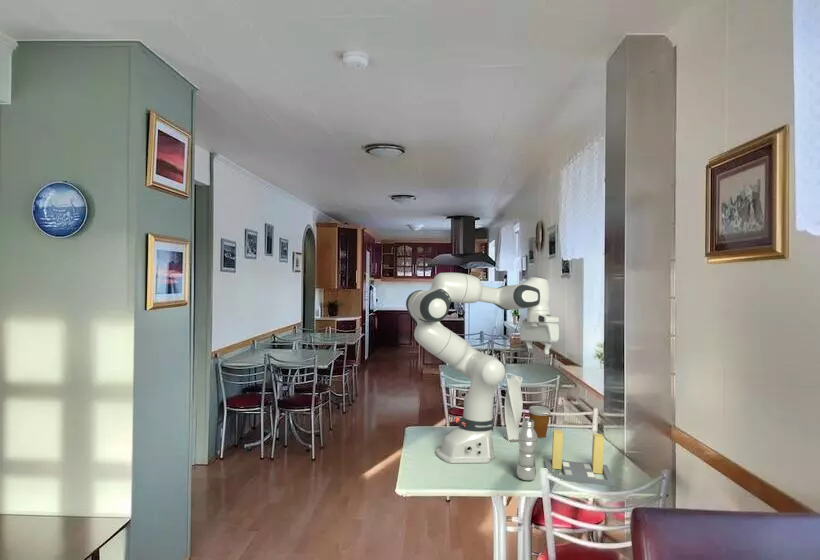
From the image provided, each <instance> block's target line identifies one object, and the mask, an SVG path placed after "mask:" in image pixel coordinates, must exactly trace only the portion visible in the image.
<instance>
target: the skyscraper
mask: <svg viewBox="0 0 820 560" xmlns="http://www.w3.org/2000/svg"><path fill="white" fill-rule="evenodd" d="M507 375H510V377H508V376H507ZM505 379H506V384H507V389H506V393H505V399H504V421H505V431H504V434H503V438H504V437H505V438H506V439H505V438H504V439H505V440H507V441H508V440H509V441H510V443H519V438H518V435H519V432H520V431H519V427H520V423H521V429H522V428H523V427H524V426H523V420H525V419H526V415H525V414H526V411H525V410H523V407H524V406H523V405H524V404H523V403H524V402H523V394H522V390H521V386H522V384H523V380H524V379H523V377H522V376H519V375H515V374H513V373H509V372H505ZM522 414H523V416H522ZM521 420H522V421H521ZM509 441H508V442H509Z"/></svg>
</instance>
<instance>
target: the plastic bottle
mask: <svg viewBox="0 0 820 560" xmlns="http://www.w3.org/2000/svg"><path fill="white" fill-rule="evenodd" d="M522 421H523V426H524V427H523V428H522V427H521V429H520V431H518V432H519V435H518V438H519V442H518V447H519V448H518V450H519V452H518V453H519V455H518V463H517V466H516V467H517V468H516V475H517V477H518V478H519V479H520V480H523V481H533V480H534V479H535V478H536V477H537V476H536V475H537V467H536V450H537V449H536V448H537V444H538V443H537V442H538V437H537V434H536V432H535V430H534V429H533V427H534V421H533V420H530V418H527V419H526V418H525V420H523V419H522Z"/></svg>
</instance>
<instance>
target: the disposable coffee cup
mask: <svg viewBox="0 0 820 560" xmlns="http://www.w3.org/2000/svg"><path fill="white" fill-rule="evenodd" d="M527 411H528V413H529V419H530V420H533V421H534V427H533V429H534V430H535V432H536V434H537V439H538V438H540V439H541V438H542V439H544V438H546V437H547V432H548V427H549V421H550V415H551V414H552V412H551V408H550V407H547V406H544V405H531V406H529V408H528V410H527ZM543 413H548V414H549V415H543Z"/></svg>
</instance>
